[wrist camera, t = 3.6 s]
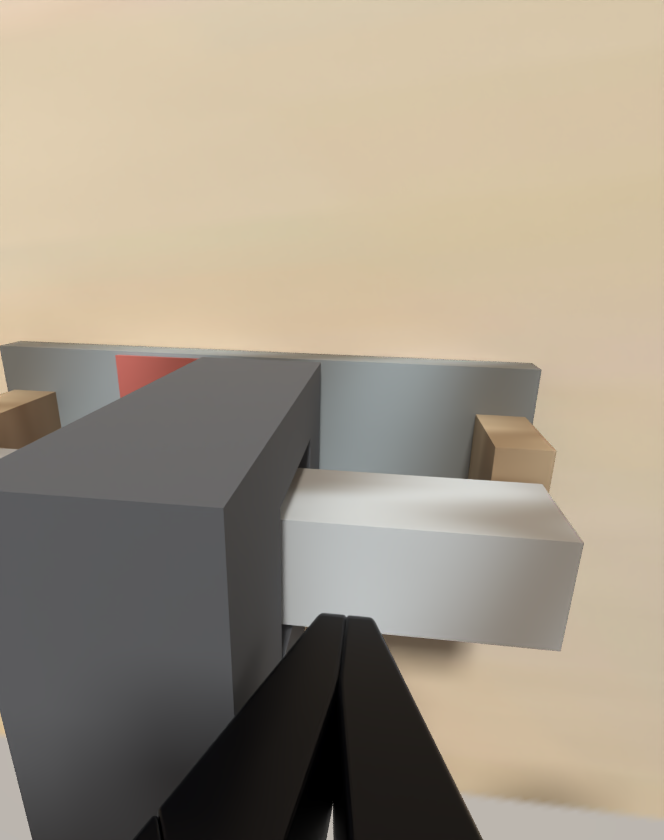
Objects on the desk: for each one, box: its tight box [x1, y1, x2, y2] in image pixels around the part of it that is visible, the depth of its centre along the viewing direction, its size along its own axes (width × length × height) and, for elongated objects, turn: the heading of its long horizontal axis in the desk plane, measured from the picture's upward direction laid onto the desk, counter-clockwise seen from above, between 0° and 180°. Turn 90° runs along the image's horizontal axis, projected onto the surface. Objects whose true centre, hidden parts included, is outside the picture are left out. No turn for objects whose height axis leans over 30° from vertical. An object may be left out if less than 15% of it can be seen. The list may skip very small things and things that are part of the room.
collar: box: [0, 357, 321, 840], centre depth 9 cm, size 3×6×7 cm, turn 178°
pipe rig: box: [0, 341, 584, 651], centre depth 11 cm, size 14×6×5 cm, turn 88°
